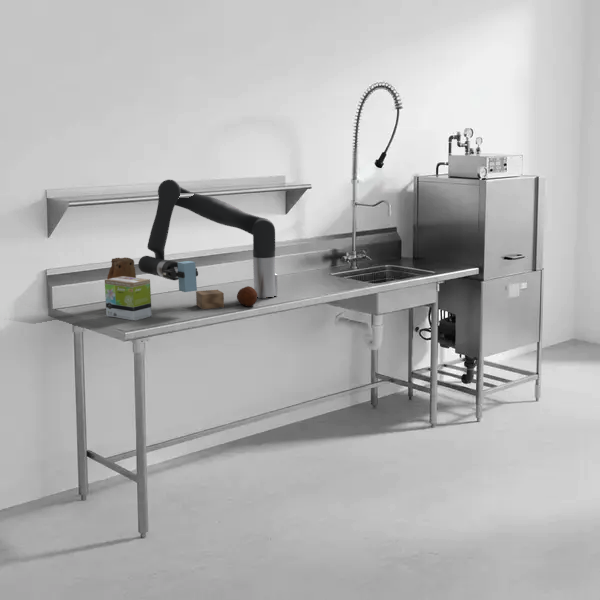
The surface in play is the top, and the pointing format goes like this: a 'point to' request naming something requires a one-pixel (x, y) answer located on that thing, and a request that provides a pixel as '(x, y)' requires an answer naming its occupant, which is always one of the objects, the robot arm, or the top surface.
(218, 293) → the brown wooden block
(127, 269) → the brown tapered piece
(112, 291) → the tea box
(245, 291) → the potato
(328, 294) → the top surface
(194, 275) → the pillar
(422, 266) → the top surface
